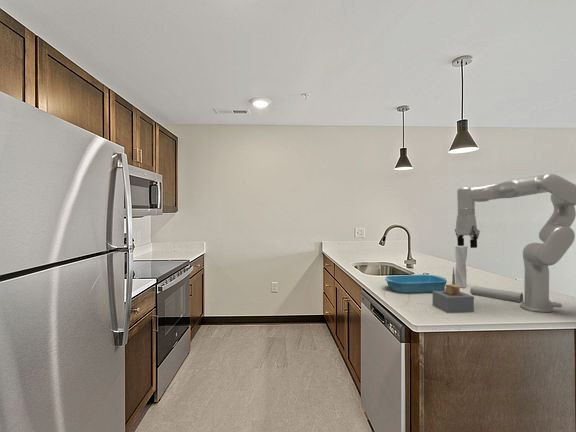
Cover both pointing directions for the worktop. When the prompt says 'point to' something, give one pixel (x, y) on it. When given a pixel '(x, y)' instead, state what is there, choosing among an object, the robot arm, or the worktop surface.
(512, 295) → the tube
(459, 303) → the socket
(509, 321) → the worktop surface
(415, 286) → the casserole dish
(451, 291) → the peg
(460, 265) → the skyscraper
